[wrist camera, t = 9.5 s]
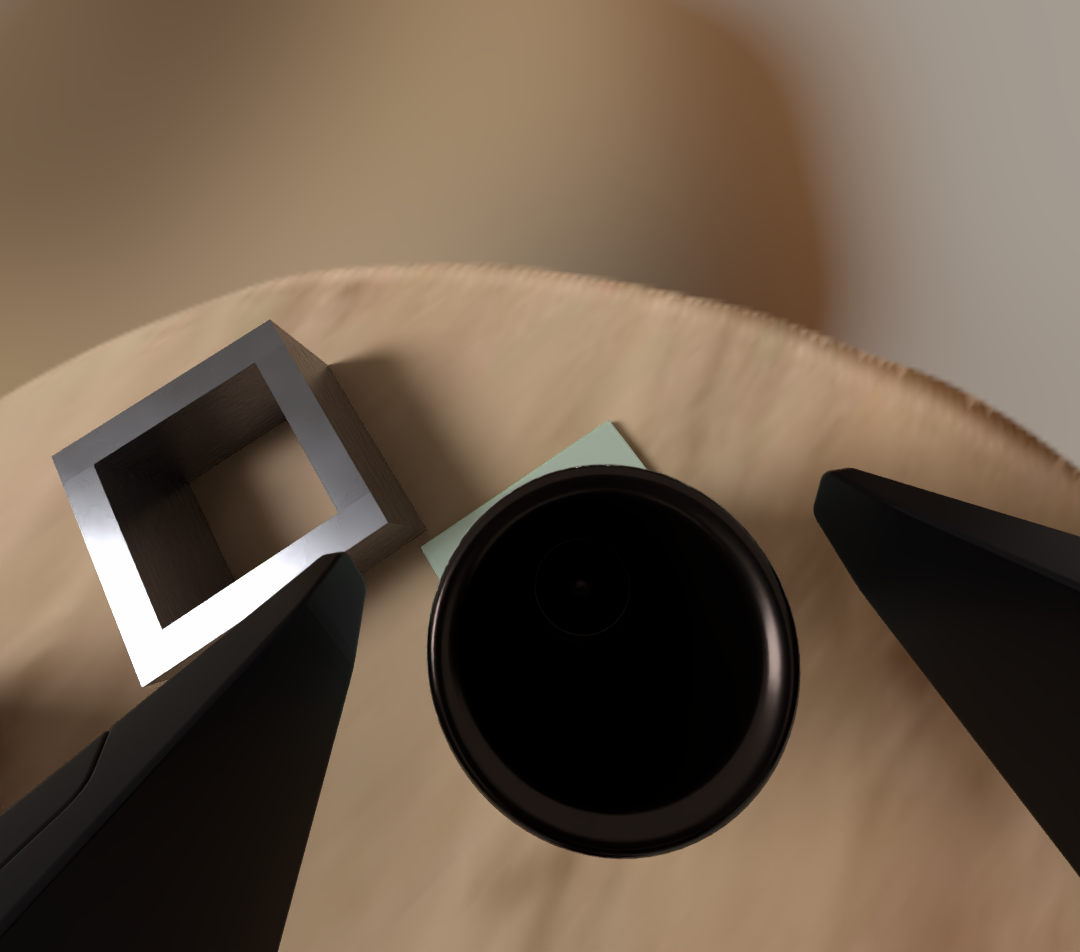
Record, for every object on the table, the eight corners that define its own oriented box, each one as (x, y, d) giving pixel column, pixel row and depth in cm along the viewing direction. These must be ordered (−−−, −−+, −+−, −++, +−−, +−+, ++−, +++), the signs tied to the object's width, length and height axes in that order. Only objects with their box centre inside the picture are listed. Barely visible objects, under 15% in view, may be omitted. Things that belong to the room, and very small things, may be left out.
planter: (497, 573, 15) (354, 608, 5) (589, 499, 15) (629, 394, 5) (572, 676, 14) (580, 968, 4) (669, 595, 15) (895, 687, 4)
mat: (753, 614, 15) (758, 615, 14) (550, 760, 14) (550, 766, 14) (607, 422, 16) (608, 419, 16) (424, 547, 16) (420, 547, 16)
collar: (426, 529, 16) (388, 522, 13) (235, 658, 16) (141, 687, 12) (327, 364, 18) (269, 319, 14) (153, 476, 17) (51, 456, 14)
